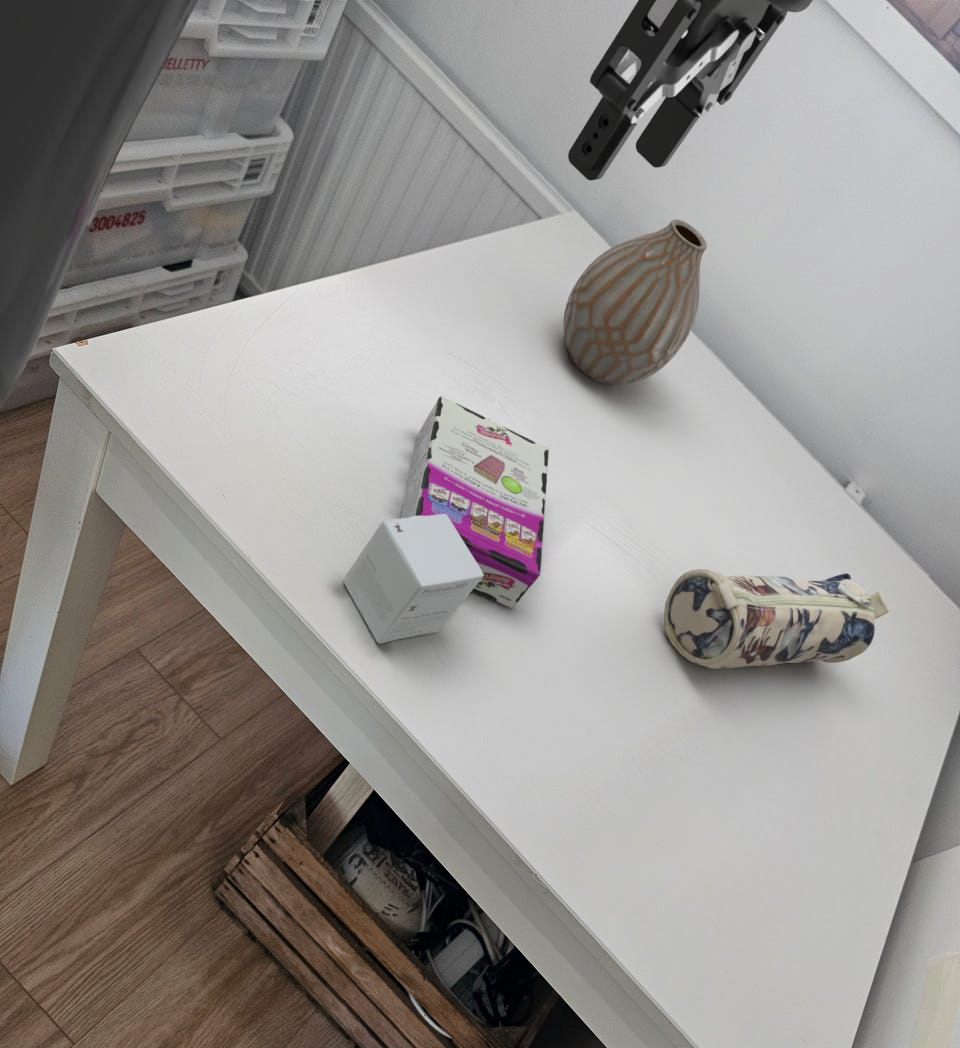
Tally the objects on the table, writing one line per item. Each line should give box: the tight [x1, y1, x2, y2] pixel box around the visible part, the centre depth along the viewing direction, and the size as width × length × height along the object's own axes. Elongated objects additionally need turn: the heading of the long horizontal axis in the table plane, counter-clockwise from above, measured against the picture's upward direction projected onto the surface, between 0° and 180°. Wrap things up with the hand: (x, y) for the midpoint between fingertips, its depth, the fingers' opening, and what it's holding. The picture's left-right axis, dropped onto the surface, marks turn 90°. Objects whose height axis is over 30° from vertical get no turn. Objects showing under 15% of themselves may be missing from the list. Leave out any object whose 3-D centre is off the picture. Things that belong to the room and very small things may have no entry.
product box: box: [342, 514, 484, 645], centre depth 76 cm, size 6×6×7 cm
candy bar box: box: [400, 395, 550, 609], centre depth 87 cm, size 11×5×16 cm
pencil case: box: [663, 568, 890, 670], centre depth 95 cm, size 22×8×10 cm, turn 112°
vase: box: [562, 218, 708, 385], centre depth 110 cm, size 13×13×18 cm
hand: (616, 164), depth 61 cm, fingers open, 8 cm apart
